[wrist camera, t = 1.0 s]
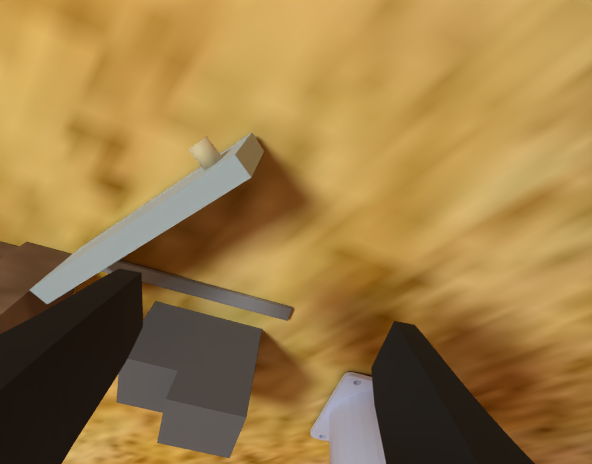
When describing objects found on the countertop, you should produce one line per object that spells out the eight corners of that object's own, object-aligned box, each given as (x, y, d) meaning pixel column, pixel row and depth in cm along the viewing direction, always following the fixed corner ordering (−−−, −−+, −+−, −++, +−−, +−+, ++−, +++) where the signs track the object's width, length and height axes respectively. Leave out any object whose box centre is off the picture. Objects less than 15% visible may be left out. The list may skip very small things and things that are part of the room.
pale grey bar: (94, 260, 19) (47, 304, 15) (66, 233, 18) (10, 274, 14) (264, 150, 15) (251, 177, 12) (238, 113, 14) (216, 130, 11)
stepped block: (262, 328, 21) (246, 417, 16) (247, 366, 23) (229, 457, 18) (155, 300, 20) (102, 384, 15) (150, 342, 22) (100, 430, 17)
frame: (292, 307, 20) (284, 417, 14) (276, 344, 22) (263, 458, 16) (-68, 209, 18) (-268, 290, 12) (-55, 259, 19) (-224, 353, 13)
